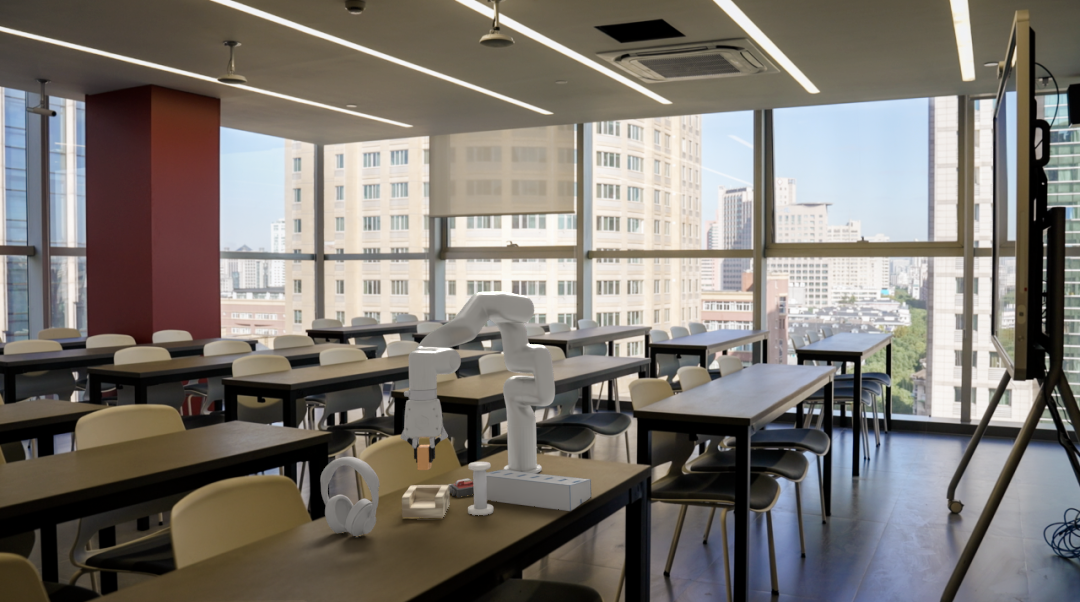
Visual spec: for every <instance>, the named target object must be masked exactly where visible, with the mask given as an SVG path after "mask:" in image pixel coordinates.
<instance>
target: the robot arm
mask: <svg viewBox="0 0 1080 602" xmlns="http://www.w3.org/2000/svg"><path fill="white" fill-rule="evenodd" d="M534 314H535V305H534V303H533V300H532V299H531V298H530V297H528V296H526V295H522V294H516V293H512V292H507V291H478V292H476V293H474V294H473V295H471V296H470V298H469V299H468V301H467V302H466V303H465V304H464V305H463V307H462V308H461V309H460V310H459V312H458V313H457V314H456V315H455V316H454V317H453V319H452V320H450V321H448V322H446V323H444V324H443V325H441V326H438V328H436V329H434V330H432V331H430V333H428V334H427V335H425V336H424V338H422V340H421V341H420V343H419V344H418V345H417V346H416V348H415V349H414V350H413V351H410V353H409V354H408V384H409V385H408V387H409V389H408V390H405V391H404V392H403V395H404V397H408V400H406V402H405V408H404V409H405V410H404V426H403V427H404V428H403V430H402V432H401V434H400V437H399V438H400V439H401V440H403V441H405V442H407V443H408V444H409V445H410V446H411V447H412V449H413V460H415V463H416V464H417V448H418V447H419V446H420V444H419V442H420V439H421V438H422V439H423V438H426V439H427V438H428V439H429V445H430V448H429V462H430V463H432V464H433V462H434V460H435V459H436V447H437V445H438V444H439V443H440V442H442V441H444V440H445V439H447V438H448V436H449V435H448V432H447V431H446V429H445V427H444V422H443V413H442V412H443V411H442V405H441V401H440V399H439V398H438V389H437V388H438V386H437V385H438V381H437V376H438V375H451V374H453V373H455V372H456V371H458V369H459V368H460V366H461V362H462V360H461V355H460V353H459V352H458V351H457V350H456V349H454V348H453V347H456V346H459V345H463V344H466V343H468V342H471V341H473V340H474V339H476V338H477V336H478V334H479V333H480V332H481V331H482V329H483V328H484V326H485V325H486V324H487V323H488V321H491V322H492V323H494V325H495V326H497V327H496V328H498V330H499V333H500V336H501V342H502V343H501V344H502V352H503V360H504V364H505V368H506V370H507V371H508V372H511V373H517V374H518V373H519V374H531V375H533V376H531V375H513V376H510V377H508V378H506V380H505V381H504V383H503V388H502V393H503V394H502V395H503V396H504V397H503V398H504V404H505V407H506V408H505V409H506V426H507V427H506V429H507V465H505V466H503V470H508V471H517V472H526V473H536V474H539V473H540V472H542V471H543V470H542V465H540V463H539V464H538V461H537V460H538V458H537V456H538V455H537V424H536V423H537V419H536V418H537V417H536V414H535V412H534V410H533V408H532V406H533V407H547V406H550V405H551V404H552V403H554V400H555V398H556V397H555V395H556V386H555V373H554V365H553V357H552V354H551V352H550V349H548V347H546V346H545V345H543V344H535V343H534V344H532V343H531V344H530V342H529V337H528V336H529V335H528V330H527V327H526V325H525V323H526V324H527V323H528V322H530V321H531V320H532V319H533V316H534Z"/></svg>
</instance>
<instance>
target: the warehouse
mask: <svg viewBox="0 0 1080 602" xmlns="http://www.w3.org/2000/svg"><path fill="white" fill-rule="evenodd" d="M486 481H487V501H488V500H491V501H490V502H496V501H497V503H504V504H505V503H506V504H511V505H522V506H526V507H527V506H529V507H534V506H535V507H536V508H544V509H550V510H558V509H559V510H558V511H567V512H572V511H573V510H575V509H576V508H577V507H579V506H581V504H583V503H584V502H586V501H587V500H589V499H591V498H592V479H591V478H580V477H572V476H563V475H551V474H544V473H543V474H542V473H526V472H517V471H508V470H504V469H498V470H494V471H488V472H486ZM590 497H591V498H590Z"/></svg>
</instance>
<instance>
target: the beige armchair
mask: <svg viewBox="0 0 1080 602" xmlns="http://www.w3.org/2000/svg"><path fill="white" fill-rule="evenodd" d="M450 494H451V493H449V484H416V485H415V484H410V485H409V487H408V489H407V490H406V491H405V492H404V494H403V495H402V497H401V515H402V516H401V517H419V518H420V517H421V518H422V517H423V518H443V517H444V518H445V516H446V514H447V512H448V510H449V508H450V506H451V505H450V504H451V503H450V502H451V496H450ZM449 505H450V506H449ZM448 507H449V508H448ZM447 509H448V510H447ZM446 511H447V512H446ZM445 513H446V514H445ZM444 515H445V516H444ZM444 518H443V519H444Z"/></svg>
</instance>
